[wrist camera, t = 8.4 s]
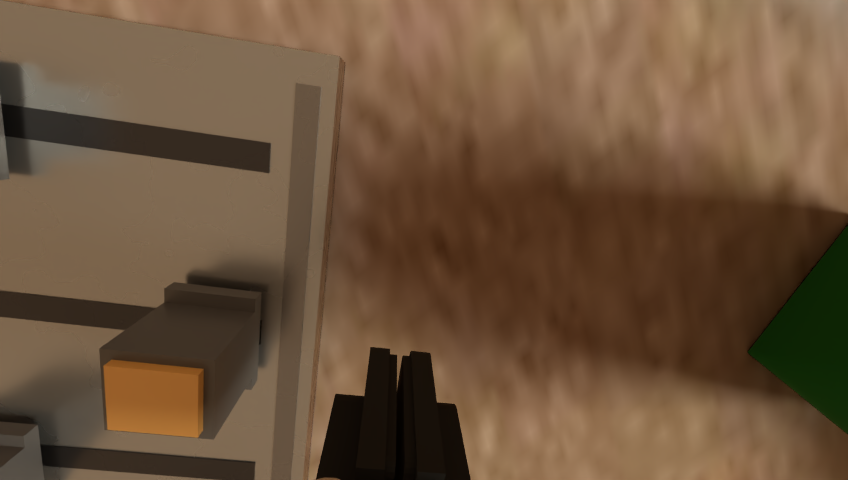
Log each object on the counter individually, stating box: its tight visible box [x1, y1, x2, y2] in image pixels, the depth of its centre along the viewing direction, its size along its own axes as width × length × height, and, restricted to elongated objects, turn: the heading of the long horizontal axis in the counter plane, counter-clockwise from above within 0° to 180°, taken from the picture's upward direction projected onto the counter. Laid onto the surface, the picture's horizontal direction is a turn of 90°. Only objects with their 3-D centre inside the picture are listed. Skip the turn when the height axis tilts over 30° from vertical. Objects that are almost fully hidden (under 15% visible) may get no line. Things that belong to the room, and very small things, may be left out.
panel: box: [0, 0, 345, 480], centre depth 15 cm, size 15×20×1 cm
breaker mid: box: [99, 282, 262, 440], centre depth 13 cm, size 3×4×4 cm
